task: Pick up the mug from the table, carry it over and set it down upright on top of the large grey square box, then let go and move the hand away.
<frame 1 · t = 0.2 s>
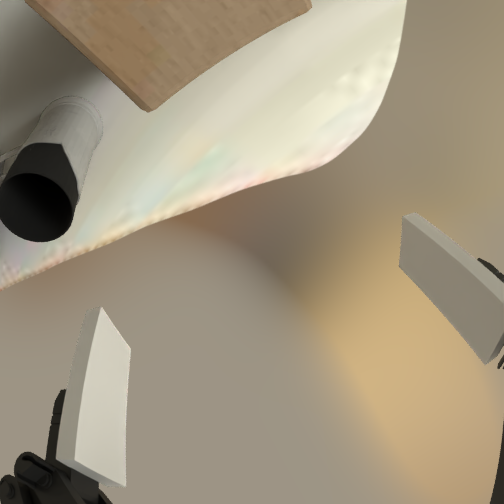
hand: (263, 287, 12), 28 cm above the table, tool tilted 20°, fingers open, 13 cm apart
glass holder: (49, 130, 28), on the table
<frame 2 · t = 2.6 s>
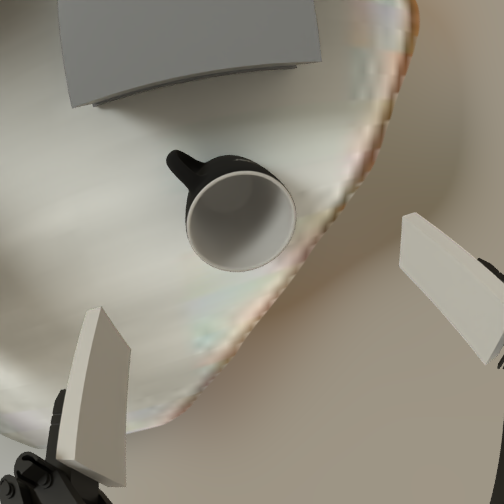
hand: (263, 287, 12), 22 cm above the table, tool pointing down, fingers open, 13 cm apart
large grey square box: (181, 0, 21), on the table
mug: (214, 176, 32), on the table
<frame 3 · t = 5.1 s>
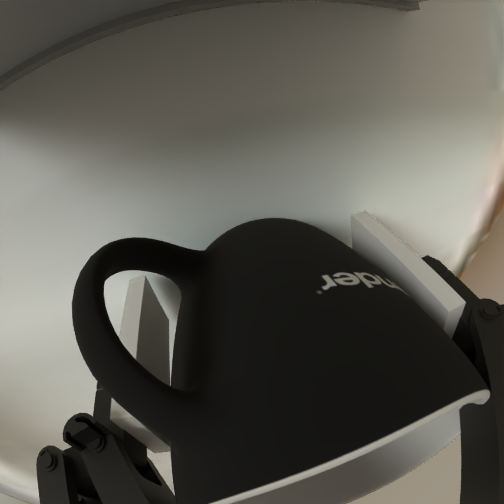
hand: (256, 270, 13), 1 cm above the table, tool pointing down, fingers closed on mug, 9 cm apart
mug: (236, 262, 14), on the table, touching gripper
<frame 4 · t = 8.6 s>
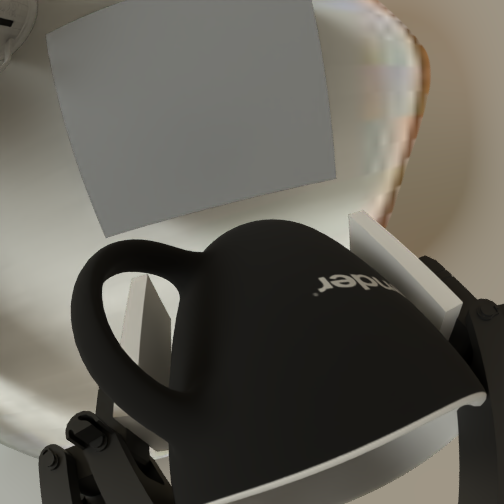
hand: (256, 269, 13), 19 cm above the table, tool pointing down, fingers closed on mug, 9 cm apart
large grey square box: (193, 93, 26), on the table
mug: (234, 263, 14), point 19 cm above the table, touching gripper
glass holder: (16, 36, 17), on the table
when the fingers open (9 cm above the table, at t = 12.0 s): mug drops 1 cm, point 7 cm above the table.
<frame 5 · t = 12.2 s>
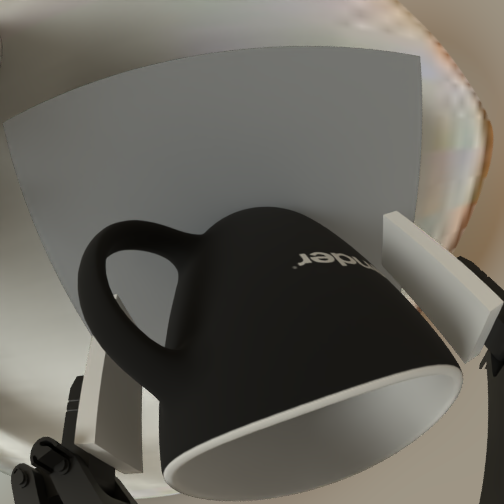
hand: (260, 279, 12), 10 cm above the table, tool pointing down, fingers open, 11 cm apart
large grey square box: (226, 191, 21), on the table
mug: (231, 248, 15), point 7 cm above the table
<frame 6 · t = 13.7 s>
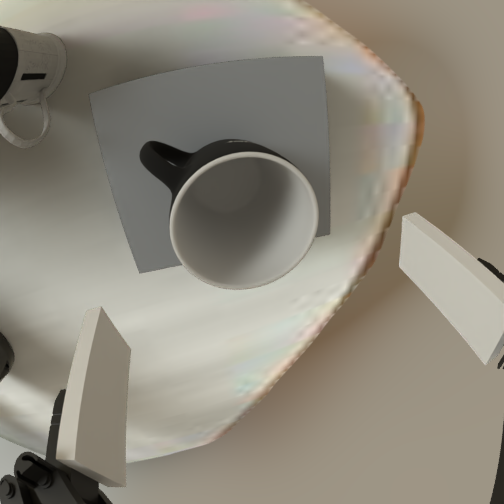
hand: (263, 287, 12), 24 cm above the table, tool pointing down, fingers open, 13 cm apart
large grey square box: (214, 148, 32), on the table, touching mug
mug: (210, 169, 25), point 7 cm above the table, touching large grey square box
glass holder: (46, 82, 23), on the table
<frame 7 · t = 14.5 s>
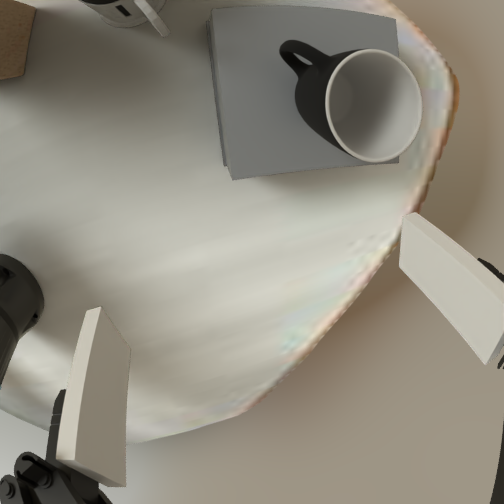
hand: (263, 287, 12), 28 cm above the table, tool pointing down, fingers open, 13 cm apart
large grey square box: (297, 85, 33), on the table
mug: (313, 86, 26), point 7 cm above the table
wooden block: (3, 46, 21), on the table
glass holder: (143, 10, 25), on the table
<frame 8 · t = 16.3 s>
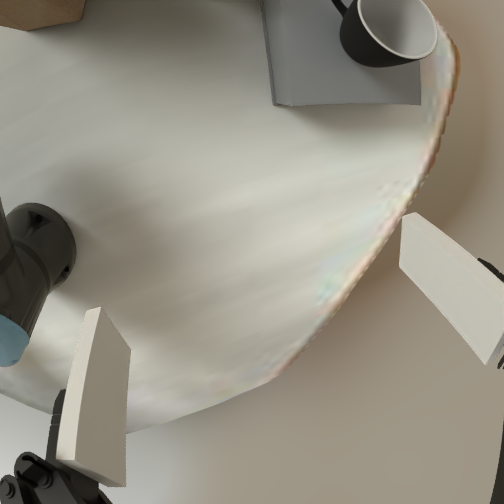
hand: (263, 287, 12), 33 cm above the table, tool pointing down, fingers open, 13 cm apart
large grey square box: (332, 43, 35), on the table, touching mug
mug: (355, 34, 28), point 8 cm above the table, touching large grey square box
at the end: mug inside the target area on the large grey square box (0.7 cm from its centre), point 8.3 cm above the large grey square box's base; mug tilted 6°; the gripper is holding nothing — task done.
